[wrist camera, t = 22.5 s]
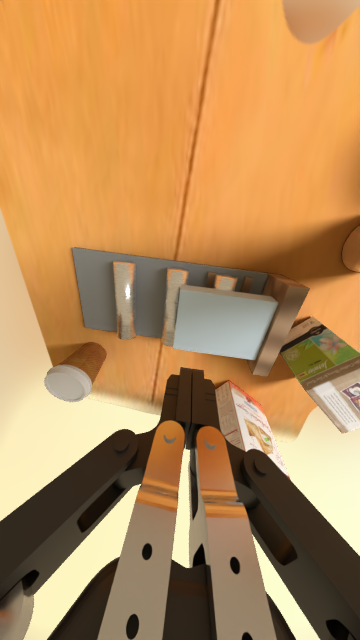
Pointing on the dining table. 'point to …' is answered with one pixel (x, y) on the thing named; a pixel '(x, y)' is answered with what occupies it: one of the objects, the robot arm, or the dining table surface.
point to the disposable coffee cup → (76, 373)
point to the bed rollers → (127, 300)
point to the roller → (225, 282)
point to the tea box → (326, 371)
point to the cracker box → (245, 423)
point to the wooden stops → (288, 307)
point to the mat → (139, 287)
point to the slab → (222, 321)
